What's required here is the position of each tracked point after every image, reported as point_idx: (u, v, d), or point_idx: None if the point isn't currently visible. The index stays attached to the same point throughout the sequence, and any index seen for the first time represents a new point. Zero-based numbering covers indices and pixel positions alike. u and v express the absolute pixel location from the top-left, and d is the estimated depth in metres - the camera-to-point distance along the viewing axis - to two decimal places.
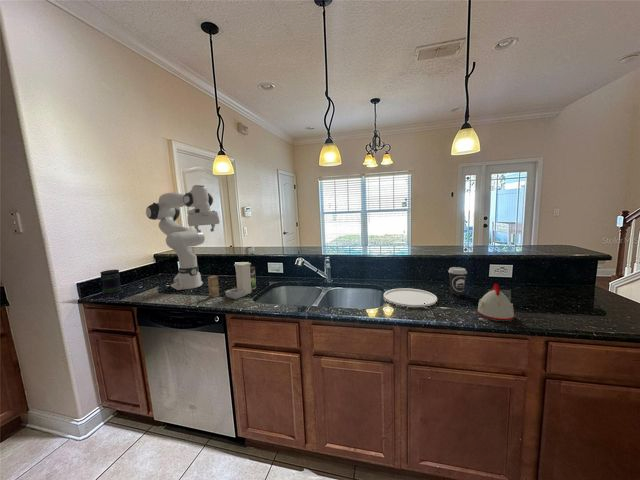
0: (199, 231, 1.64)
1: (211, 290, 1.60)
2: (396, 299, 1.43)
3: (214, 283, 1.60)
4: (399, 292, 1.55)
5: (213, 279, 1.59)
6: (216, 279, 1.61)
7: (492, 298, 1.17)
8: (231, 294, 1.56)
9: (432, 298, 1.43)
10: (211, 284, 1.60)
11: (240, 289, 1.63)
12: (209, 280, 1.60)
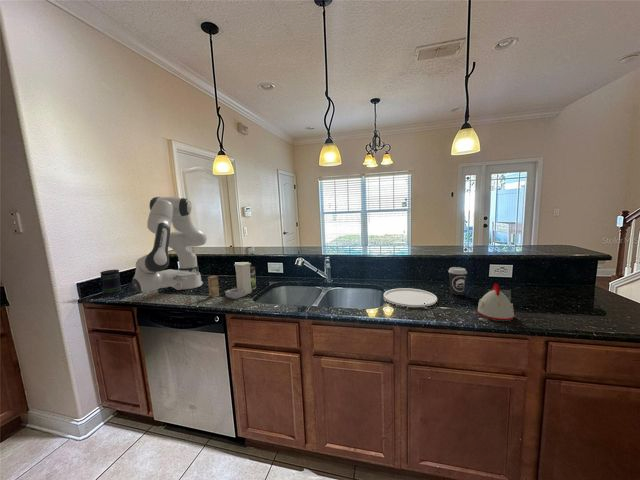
0: None
1: (211, 290, 1.60)
2: (396, 299, 1.43)
3: (214, 283, 1.60)
4: (399, 292, 1.55)
5: (213, 279, 1.59)
6: (216, 279, 1.61)
7: (492, 298, 1.17)
8: (231, 294, 1.56)
9: (432, 298, 1.43)
10: (211, 284, 1.60)
11: (240, 289, 1.63)
12: (209, 280, 1.60)
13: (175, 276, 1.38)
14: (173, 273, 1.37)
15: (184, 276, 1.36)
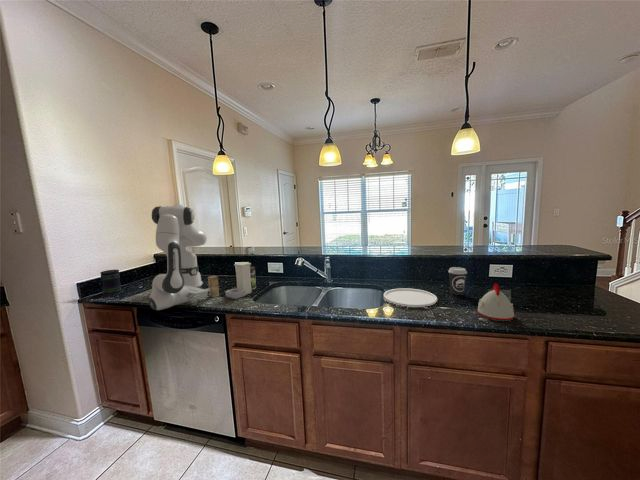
0: None
1: (211, 290, 1.60)
2: (396, 299, 1.43)
3: (214, 283, 1.60)
4: (399, 292, 1.55)
5: (213, 279, 1.59)
6: (216, 279, 1.61)
7: (492, 298, 1.17)
8: (231, 294, 1.56)
9: (432, 298, 1.43)
10: (211, 284, 1.60)
11: (240, 289, 1.63)
12: (209, 280, 1.60)
13: (188, 293, 1.44)
14: (186, 291, 1.44)
15: (196, 294, 1.43)
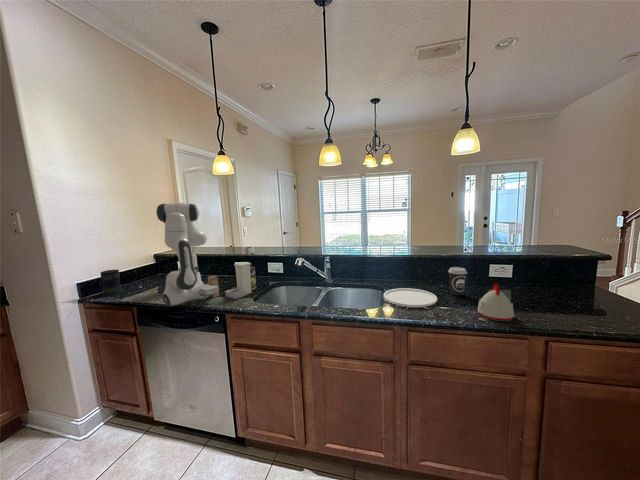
0: None
1: None
2: (396, 299, 1.43)
3: (214, 283, 1.60)
4: (399, 292, 1.55)
5: (213, 279, 1.59)
6: (216, 279, 1.61)
7: (492, 298, 1.17)
8: (231, 294, 1.56)
9: (432, 298, 1.43)
10: (211, 284, 1.60)
11: (240, 289, 1.63)
12: (209, 280, 1.60)
13: (199, 290, 1.50)
14: (197, 287, 1.50)
15: (208, 290, 1.49)
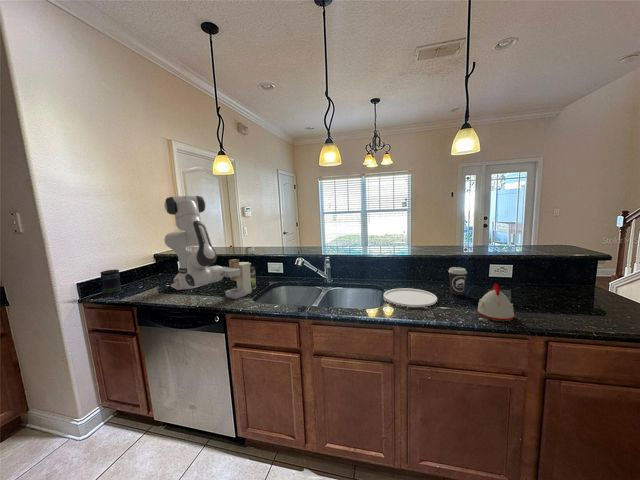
0: None
1: None
2: (396, 299, 1.43)
3: (235, 266, 1.57)
4: (399, 292, 1.55)
5: (234, 262, 1.56)
6: (237, 262, 1.58)
7: (492, 298, 1.17)
8: (231, 294, 1.56)
9: (432, 298, 1.43)
10: (232, 267, 1.57)
11: (240, 289, 1.63)
12: (230, 263, 1.57)
13: (222, 272, 1.47)
14: (220, 269, 1.47)
15: (231, 272, 1.46)
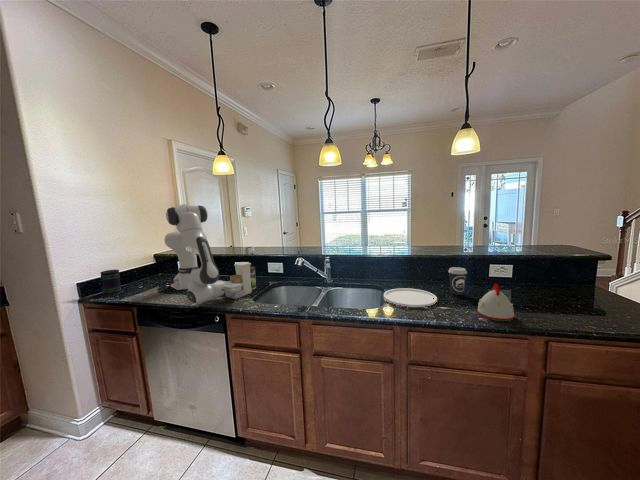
0: None
1: None
2: (396, 299, 1.43)
3: (237, 282, 1.58)
4: (399, 292, 1.55)
5: (235, 278, 1.58)
6: (238, 278, 1.59)
7: (492, 298, 1.17)
8: (231, 294, 1.56)
9: (432, 298, 1.43)
10: None
11: None
12: (231, 279, 1.58)
13: (223, 287, 1.48)
14: (221, 285, 1.48)
15: (232, 288, 1.47)
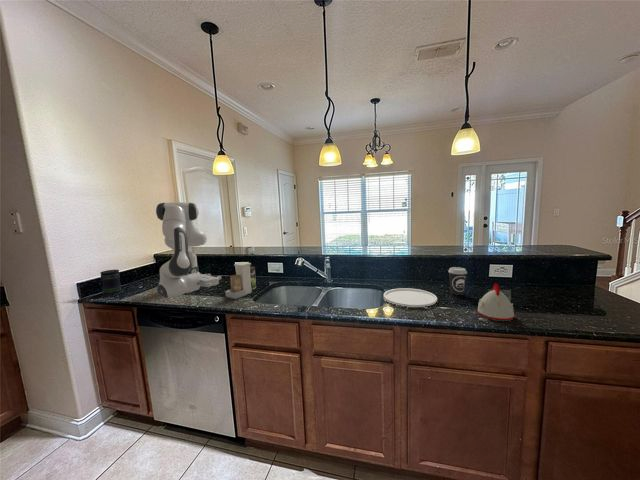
0: None
1: (233, 289, 1.58)
2: (396, 299, 1.43)
3: (237, 282, 1.58)
4: (399, 292, 1.55)
5: (236, 278, 1.58)
6: (238, 278, 1.59)
7: (492, 298, 1.17)
8: (231, 294, 1.56)
9: (432, 298, 1.43)
10: (234, 283, 1.58)
11: None
12: (231, 279, 1.58)
13: (199, 281, 1.37)
14: (197, 278, 1.37)
15: (208, 281, 1.36)
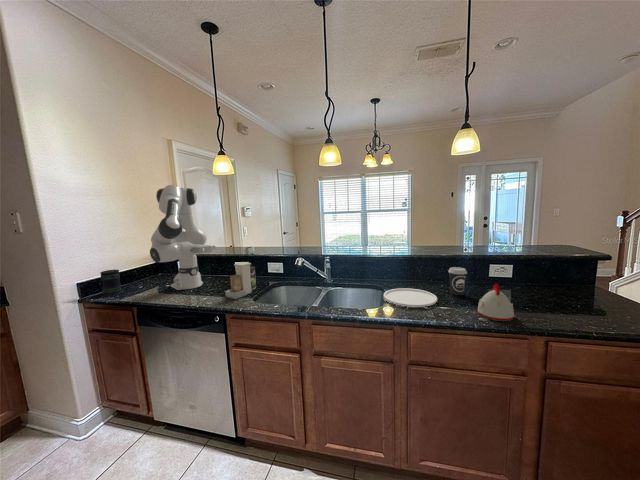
0: None
1: (233, 289, 1.58)
2: (396, 299, 1.43)
3: (237, 282, 1.58)
4: (399, 292, 1.55)
5: (236, 278, 1.58)
6: (238, 278, 1.59)
7: (492, 298, 1.17)
8: (231, 294, 1.56)
9: (432, 298, 1.43)
10: (234, 283, 1.58)
11: None
12: (231, 279, 1.58)
13: (192, 248, 1.37)
14: (190, 245, 1.36)
15: (201, 248, 1.36)
